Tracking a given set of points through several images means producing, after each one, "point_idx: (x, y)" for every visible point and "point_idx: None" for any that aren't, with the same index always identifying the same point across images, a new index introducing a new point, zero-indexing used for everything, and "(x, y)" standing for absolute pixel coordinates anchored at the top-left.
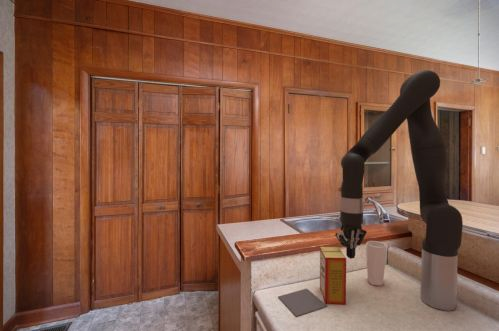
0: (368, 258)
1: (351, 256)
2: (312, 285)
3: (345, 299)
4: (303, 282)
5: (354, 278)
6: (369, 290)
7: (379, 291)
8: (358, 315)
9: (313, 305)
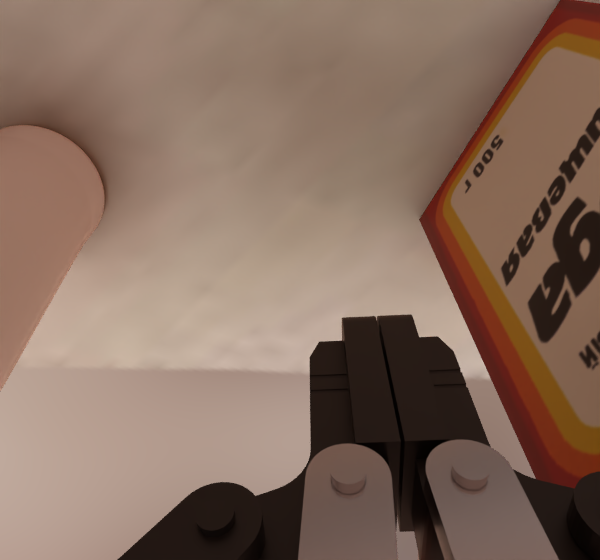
0: (17, 326)
1: (417, 336)
2: None
3: (589, 3)
4: None
5: (180, 290)
6: (185, 106)
7: (105, 58)
8: None
9: None
